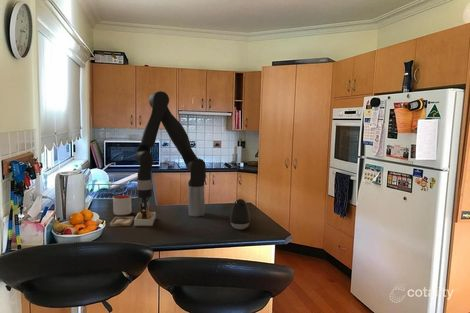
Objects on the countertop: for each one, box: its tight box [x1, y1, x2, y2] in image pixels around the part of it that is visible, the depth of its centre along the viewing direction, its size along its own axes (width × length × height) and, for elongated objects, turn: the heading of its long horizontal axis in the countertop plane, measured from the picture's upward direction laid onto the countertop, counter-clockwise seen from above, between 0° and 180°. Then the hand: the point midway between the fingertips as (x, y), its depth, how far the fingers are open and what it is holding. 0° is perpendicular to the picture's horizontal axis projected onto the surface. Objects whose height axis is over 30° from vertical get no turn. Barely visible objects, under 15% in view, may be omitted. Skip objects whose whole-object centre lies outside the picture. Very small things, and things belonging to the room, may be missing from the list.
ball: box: [140, 210, 151, 219], centre depth 177 cm, size 6×6×6 cm
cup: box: [112, 194, 133, 217], centre depth 193 cm, size 10×10×10 cm
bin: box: [133, 211, 156, 227], centre depth 178 cm, size 9×14×4 cm
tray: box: [109, 216, 135, 227], centre depth 176 cm, size 10×12×2 cm
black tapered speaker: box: [229, 198, 251, 231], centre depth 168 cm, size 10×10×15 cm
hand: (145, 218), depth 178 cm, fingers closed on ball, 6 cm apart
